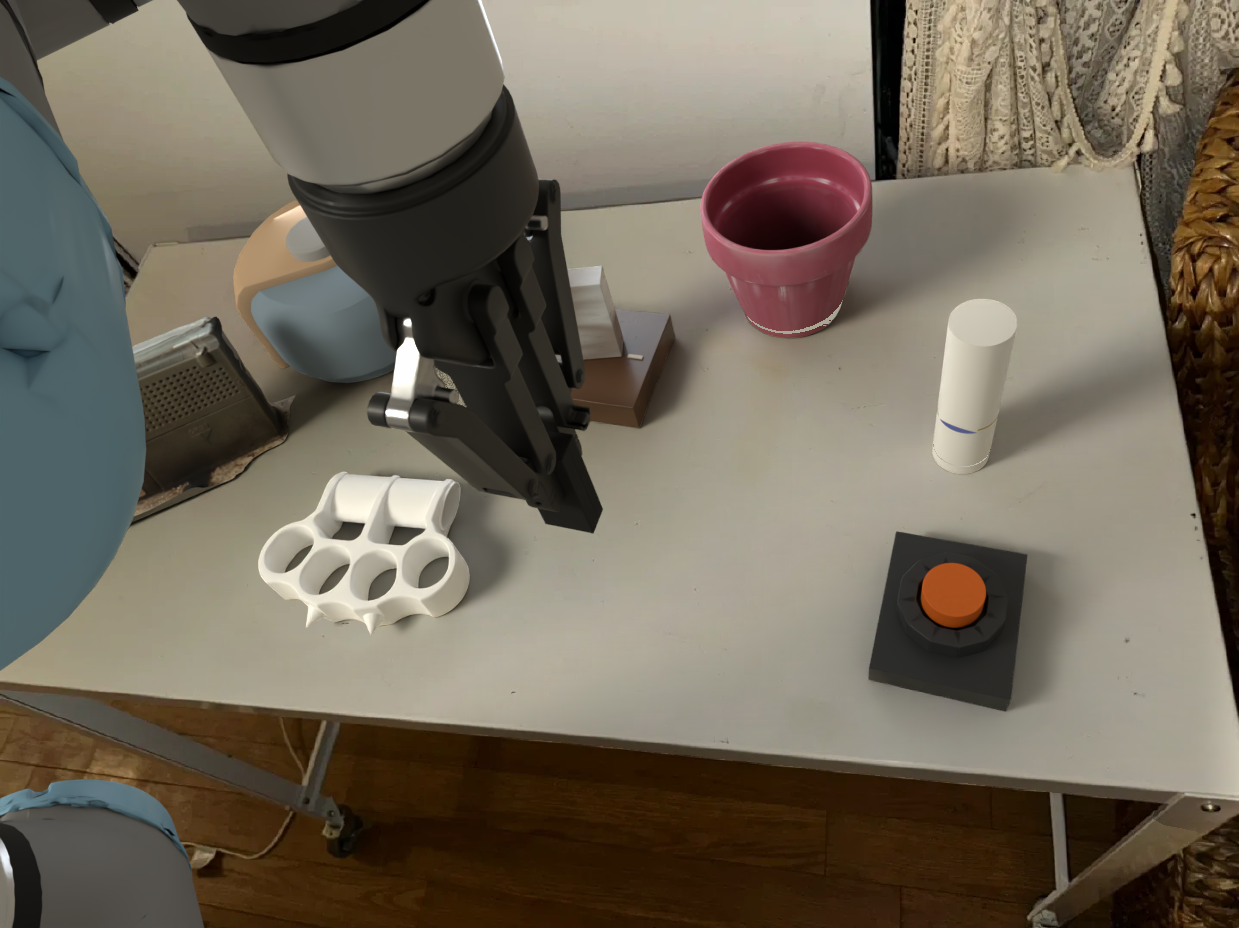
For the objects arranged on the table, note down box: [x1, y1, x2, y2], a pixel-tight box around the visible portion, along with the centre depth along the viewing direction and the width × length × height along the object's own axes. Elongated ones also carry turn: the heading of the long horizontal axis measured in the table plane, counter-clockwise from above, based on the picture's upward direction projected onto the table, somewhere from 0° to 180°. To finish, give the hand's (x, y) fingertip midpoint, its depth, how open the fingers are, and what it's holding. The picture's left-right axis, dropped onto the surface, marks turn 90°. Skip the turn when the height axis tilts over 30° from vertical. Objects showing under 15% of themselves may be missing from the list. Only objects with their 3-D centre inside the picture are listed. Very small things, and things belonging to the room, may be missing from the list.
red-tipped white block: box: [555, 265, 624, 361], centre depth 80 cm, size 7×2×9 cm, turn 86°
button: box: [921, 563, 986, 628], centre depth 62 cm, size 4×4×2 cm
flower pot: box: [699, 141, 873, 339], centre depth 80 cm, size 14×14×13 cm
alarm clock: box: [232, 199, 397, 384], centre depth 91 cm, size 19×20×12 cm
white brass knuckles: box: [257, 471, 471, 637], centre depth 77 cm, size 3×18×15 cm
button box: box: [867, 530, 1028, 713], centre depth 64 cm, size 11×9×4 cm
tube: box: [931, 298, 1018, 475], centre depth 67 cm, size 4×4×15 cm
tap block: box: [571, 308, 676, 429], centre depth 84 cm, size 11×13×3 cm
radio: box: [131, 316, 296, 523], centre depth 83 cm, size 23×9×15 cm, turn 110°
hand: (574, 516), depth 47 cm, fingers closed
